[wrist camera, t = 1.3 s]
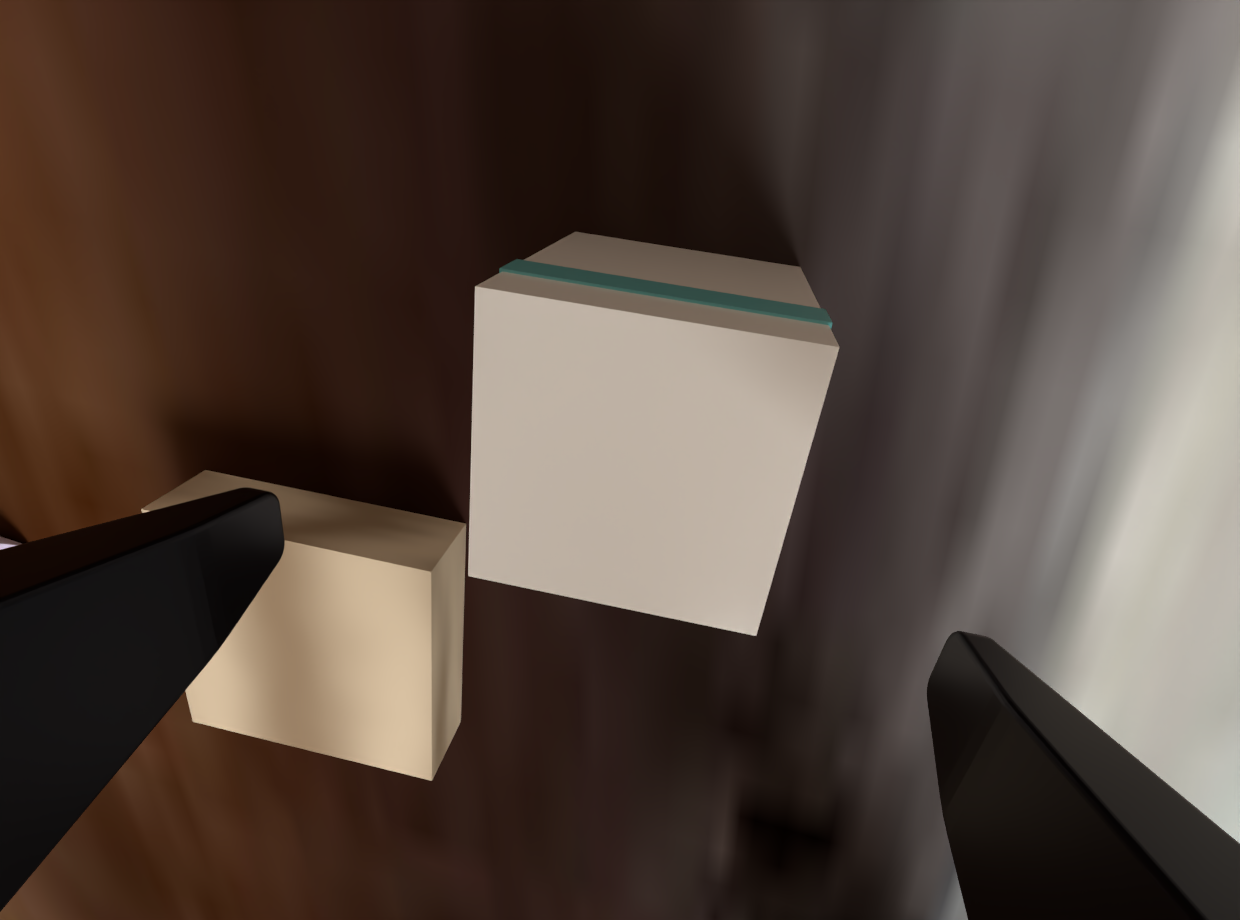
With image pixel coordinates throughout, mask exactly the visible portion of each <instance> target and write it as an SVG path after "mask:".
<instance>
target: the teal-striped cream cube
mask: <svg viewBox="0 0 1240 920" xmlns="http://www.w3.org/2000/svg"><path fill="white" fill-rule="evenodd" d="M831 327H832V321H831V319H830V317H829V315H828V313H827V311H826V309H822V308H820V306H819V304H818V302H817V300H816V298H815V296H814V294H813V292H812V290H811V288H810V286H809V284H808V282H807V280H806V278H805V276H804V274H803V272H802V270H801V268H800V267H797V266H791V265H784V264H778V263H771V262H765V261H759V260H752V259H746V258H740V257H733V256H727V255H720V254H714V253H708V252H701V251H695V250H689V249H682V248H676V247H670V246H663V245H657V244H650V243H644V242H638V241H631V240H625V239H619V238H612V237H606V236H600V235H593V234H587V233H580V232H574V233H572V234H570V235H568V236H567V237H565V238H563V239H561V240H559V241H557V242H556V243H554V244H552V245H550V246H548V247H546V248H545V249H543V250H541V251H539V252H537V253H535V254H534V255H532V256H530V257H528V258H526V259H524V260H520V259H516V260H514V261H512V262H510V263H508V264H507V265H505V266H503V267H501V268H499V274H497V275H495V276H493V277H491V278H490V279H488V280H486V281H484V282H482V283H480V284H479V285H477V286H475V312H474V354H473V396H472V438H471V480H470V522H469V564H468V576H471V577H475V578H480V579H485V580H490V581H495V582H499V583H504V584H509V585H514V586H519V587H523V588H528V589H533V590H538V591H543V592H547V593H552V594H557V595H562V596H566V597H571V598H576V599H581V600H586V601H590V602H595V603H600V604H605V605H610V606H614V607H619V608H624V609H629V610H634V611H638V612H643V613H648V614H653V615H658V616H662V617H667V618H672V619H677V620H682V621H686V622H691V623H696V624H701V625H705V626H710V627H715V628H720V629H725V630H729V631H734V632H739V633H744V634H749V635H753V636H756V635H757V631H758V628H759V624H760V621H761V618H762V614H763V611H764V607H765V604H766V600H767V597H768V593H769V590H770V586H771V583H772V579H773V576H774V572H775V569H776V566H777V562H778V559H779V555H780V552H781V548H782V545H783V541H784V538H785V534H786V531H787V527H788V524H789V520H790V517H791V514H792V510H793V507H794V503H795V500H796V496H797V493H798V489H799V486H800V482H801V479H802V475H803V472H804V468H805V465H806V462H807V458H808V455H809V451H810V448H811V444H812V441H813V437H814V434H815V430H816V427H817V423H818V420H819V416H820V413H821V410H822V406H823V403H824V399H825V396H826V392H827V389H828V385H829V382H830V378H831V375H832V371H833V368H834V364H835V361H836V358H837V354H838V351H839V345H838V343H837V341H836V339H835V337H834V335H833V333H832V331H831Z"/></svg>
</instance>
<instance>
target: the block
mask: <svg viewBox="0 0 1240 920" xmlns="http://www.w3.org/2000/svg"><path fill="white" fill-rule="evenodd" d="M243 487H249V488H254V489H259V490H264V491H269V492H272V493H274V494H275V495H276V496H277V498H278V500H279V503H280V510H281V517H282V525H283V532H284V540H285V546H284V551H283V555H282V557H281V559H280V561H279V563H278V564H277V566H276V567H275V569H274V570H273V571H272V573H271V574H270V576H269V577H268V579H267V580H266V582H265V583H264V585H263V586H262V588H261V589H260V591H259V592H258V594H257V595H256V596H255V598H254V599H253V601H252V602H251V604H250V605H249V607H248V608H247V610H246V611H245V613H244V614H243V616H242V617H241V619H240V620H239V621H238V623H237V624H236V626H235V627H234V629H233V630H232V632H231V633H230V635H229V636H228V637H227V639H226V640H225V642H224V643H223V644H222V646H221V647H220V648H219V650H218V651H217V652H216V654H215V655H214V656H213V657H212V659H211V660H210V661H209V663H208V664H207V665H206V666H205V667H204V669H203V670H202V671H201V672H200V673H199V675H198V676H197V677H196V678H195V679H194V681H193V682H192V683H191V684H190V685H189V687H188V688H187V689H186V690H185V691H186V695H187V699H188V703H189V707H190V711H191V716H192V720H193V722H196V723H200V724H204V725H208V726H212V727H217V728H221V729H225V730H229V731H233V732H237V733H241V734H245V735H249V736H253V737H257V738H261V739H265V740H269V741H273V742H277V743H281V744H285V745H289V746H293V747H297V748H301V749H305V750H310V751H314V752H318V753H322V754H326V755H330V756H334V757H338V758H342V759H346V760H350V761H354V762H358V763H362V764H366V765H370V766H374V767H378V768H382V769H386V770H390V771H394V772H399V773H403V774H407V775H411V776H415V777H419V778H423V779H427V780H431V781H432V780H433V777H434V775H435V773H436V771H437V769H438V767H439V765H440V763H441V761H442V759H443V757H444V755H445V753H446V751H447V749H448V747H449V745H450V742H451V740H452V738H453V736H454V734H455V732H456V730H457V728H458V726H459V724H460V722H461V694H462V657H463V620H464V582H465V545H466V524H465V523H460V522H456V521H451V520H446V519H441V518H436V517H431V516H426V515H422V514H417V513H412V512H407V511H402V510H397V509H393V508H388V507H383V506H378V505H373V504H368V503H363V502H359V501H354V500H349V499H344V498H339V497H334V496H329V495H325V494H320V493H315V492H310V491H305V490H300V489H296V488H291V487H286V486H281V485H276V484H271V483H266V482H262V481H257V480H252V479H247V478H242V477H237V476H232V475H228V474H223V473H218V472H213V471H208V470H204V471H203V472H201V473H200V474H198V475H196V476H195V477H193V478H191V479H190V480H188V481H186V482H185V483H183V484H182V485H180V486H178V487H177V488H175V489H173V490H172V491H170V492H169V493H167V494H165V495H164V496H162V497H160V498H159V499H157V500H155V501H154V502H152V503H151V504H149V505H147V506H146V507H144V508H142V509H141V510H142V513H145V512H149V511H152V510H156V509H160V508H164V507H168V506H172V505H176V504H180V503H184V502H187V501H191V500H195V499H199V498H203V497H207V496H211V495H215V494H219V493H222V492H226V491H230V490H234V489H238V488H243Z"/></svg>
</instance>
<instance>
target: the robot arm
mask: <svg viewBox="0 0 1240 920" xmlns="http://www.w3.org/2000/svg"><path fill="white" fill-rule="evenodd" d="M284 546H285V540H284V532H283V525H282V517H281V510H280V503H279V500H278V498H277V496H276V495H275V494H274V493H272V492H269V491H264V490H259V489H254V488H249V487H243V488H238V489H234V490H230V491H226V492H222V493H219V494H215V495H211V496H207V497H203V498H199V499H195V500H191V501H187V502H184V503H180V504H176V505H172V506H168V507H164V508H160V509H156V510H152V511H149V512H145V513H141V514H137V515H133V516H129V517H125V518H121V519H117V520H114V521H110V522H106V523H102V524H98V525H94V526H90V527H86V528H82V529H79V530H75V531H71V532H67V533H63V534H59V535H55V536H51V537H47V538H44V539H40V540H36V541H32V542H28V543H24V544H20V545H16V546H12V547H9V548H5V549H1V550H0V911H1V910H2V909H3V908H4V907H5V906H6V904H7V903H8V902H9V901H10V900H11V898H12V897H13V896H14V895H15V894H16V892H17V891H18V890H19V889H20V888H21V886H22V885H23V884H24V883H25V882H26V880H27V879H28V878H29V877H30V876H31V874H32V873H33V872H34V871H35V870H36V868H37V867H38V866H39V865H40V864H41V862H42V861H43V860H44V859H45V858H46V856H47V855H48V854H49V853H50V852H51V850H52V849H53V848H54V847H55V846H56V845H57V843H58V842H59V841H60V840H61V839H62V837H63V836H64V835H65V834H66V833H67V831H68V830H69V829H70V828H71V827H72V825H73V824H74V823H75V822H76V821H77V819H78V818H79V817H80V816H81V815H82V813H83V812H84V811H85V810H86V809H87V807H88V806H89V805H90V804H91V803H92V801H93V800H94V799H95V798H96V797H97V795H98V794H99V793H100V792H101V791H102V789H103V788H104V787H105V786H106V785H107V784H108V782H109V781H110V780H111V779H112V778H113V776H114V775H115V774H116V773H117V772H118V770H119V769H120V768H121V767H122V766H123V764H124V763H125V762H126V761H127V760H128V758H129V757H130V756H131V755H132V754H133V752H134V751H135V750H136V749H137V748H138V746H139V745H140V744H141V743H142V742H143V740H144V739H145V738H146V737H147V736H148V734H149V733H150V732H151V731H152V730H153V728H154V727H155V726H156V725H157V724H158V722H159V721H160V720H161V719H162V718H163V717H164V715H165V714H166V713H167V712H168V711H169V709H170V708H171V707H172V706H173V705H174V703H175V702H176V701H177V700H178V699H179V697H180V696H181V695H182V694H183V693H184V691H185V690H186V689H187V688H188V687H189V685H190V684H191V683H192V682H193V681H194V679H195V678H196V677H197V676H198V675H199V673H200V672H201V671H202V670H203V669H204V667H205V666H206V665H207V664H208V663H209V661H210V660H211V659H212V657H213V656H214V655H215V654H216V652H217V651H218V650H219V648H220V647H221V646H222V644H223V643H224V642H225V640H226V639H227V637H228V636H229V635H230V633H231V632H232V630H233V629H234V627H235V626H236V624H237V623H238V621H239V620H240V619H241V617H242V616H243V614H244V613H245V611H246V610H247V608H248V607H249V605H250V604H251V602H252V601H253V599H254V598H255V596H256V595H257V594H258V592H259V591H260V589H261V588H262V586H263V585H264V583H265V582H266V580H267V579H268V577H269V576H270V574H271V573H272V571H273V570H274V569H275V567H276V566H277V564H278V563H279V561H280V559H281V557H282V555H283V551H284ZM927 701H928V708H929V716H930V724H931V731H932V739H933V747H934V754H935V762H936V769H937V777H938V785H939V792H940V799H941V805H942V812H943V817H944V822H945V826H946V831H947V835H948V839H949V843H950V847H951V852H952V856H953V860H954V864H955V868H956V872H957V876H958V880H959V884H960V888H961V892H962V896H963V900H964V904H965V908H966V912H967V916H968V920H1240V843H1238V842H1237V841H1236V840H1235V839H1233V838H1232V837H1231V836H1230V835H1229V834H1227V833H1226V832H1225V831H1224V830H1223V829H1221V828H1220V827H1219V826H1218V825H1217V824H1215V823H1214V822H1213V821H1212V820H1210V819H1209V818H1208V817H1207V816H1206V815H1204V814H1203V813H1202V812H1201V811H1200V810H1198V809H1197V808H1196V807H1195V806H1194V805H1192V804H1191V803H1190V802H1189V801H1187V800H1186V799H1185V798H1184V797H1183V796H1181V795H1180V794H1179V793H1178V792H1177V791H1175V790H1174V789H1173V788H1172V787H1171V786H1169V785H1168V784H1167V783H1166V782H1164V781H1163V780H1162V779H1161V778H1160V777H1158V776H1157V775H1156V774H1155V773H1154V772H1152V771H1151V770H1150V769H1149V768H1148V767H1146V766H1145V765H1144V764H1143V763H1141V762H1140V761H1139V760H1138V759H1137V758H1135V757H1134V756H1133V755H1132V754H1131V753H1129V752H1128V751H1127V750H1126V749H1125V748H1123V747H1122V746H1121V745H1120V744H1118V743H1117V742H1116V741H1115V740H1114V739H1112V738H1111V737H1110V736H1109V735H1108V734H1106V733H1105V732H1104V731H1103V730H1102V729H1100V728H1099V727H1098V726H1097V725H1095V724H1094V723H1093V722H1092V721H1091V720H1089V719H1088V718H1087V717H1086V716H1085V715H1083V714H1082V713H1081V712H1080V711H1079V710H1077V709H1076V708H1075V707H1074V706H1072V705H1071V704H1070V703H1069V702H1068V701H1066V700H1065V699H1064V698H1063V697H1062V696H1060V695H1059V694H1058V693H1057V692H1056V691H1054V690H1053V689H1052V688H1051V687H1049V686H1048V685H1047V684H1046V683H1045V682H1043V681H1042V680H1041V679H1040V678H1039V677H1037V676H1036V675H1035V674H1034V673H1033V672H1031V671H1030V670H1029V669H1028V668H1027V667H1025V666H1024V665H1023V664H1022V663H1020V662H1019V661H1018V660H1017V659H1016V658H1014V657H1013V656H1012V655H1011V654H1010V653H1008V652H1007V651H1006V650H1005V649H1004V648H1002V647H1001V646H1000V645H999V644H997V643H996V642H995V641H994V640H992V639H991V638H989V637H986V636H982V635H977V634H972V633H967V632H962V631H957V632H954V633H952V634H951V635H950V636H949V638H948V639H947V641H946V643H945V645H944V647H943V650H942V652H941V654H940V656H939V658H938V660H937V663H936V665H935V667H934V669H933V671H932V673H931V676H930V678H929V682H928V687H927Z"/></svg>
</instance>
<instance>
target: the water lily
mask: <svg viewBox="0 0 1240 920" xmlns="http://www.w3.org/2000/svg"><path fill="white" fill-rule="evenodd" d="M20 544H22V543H19V542H16V541H13V540H10V539H7V538H4V537H1V536H0V550H1V549H5V548H9V547H12V546H16V545H20Z"/></svg>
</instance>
